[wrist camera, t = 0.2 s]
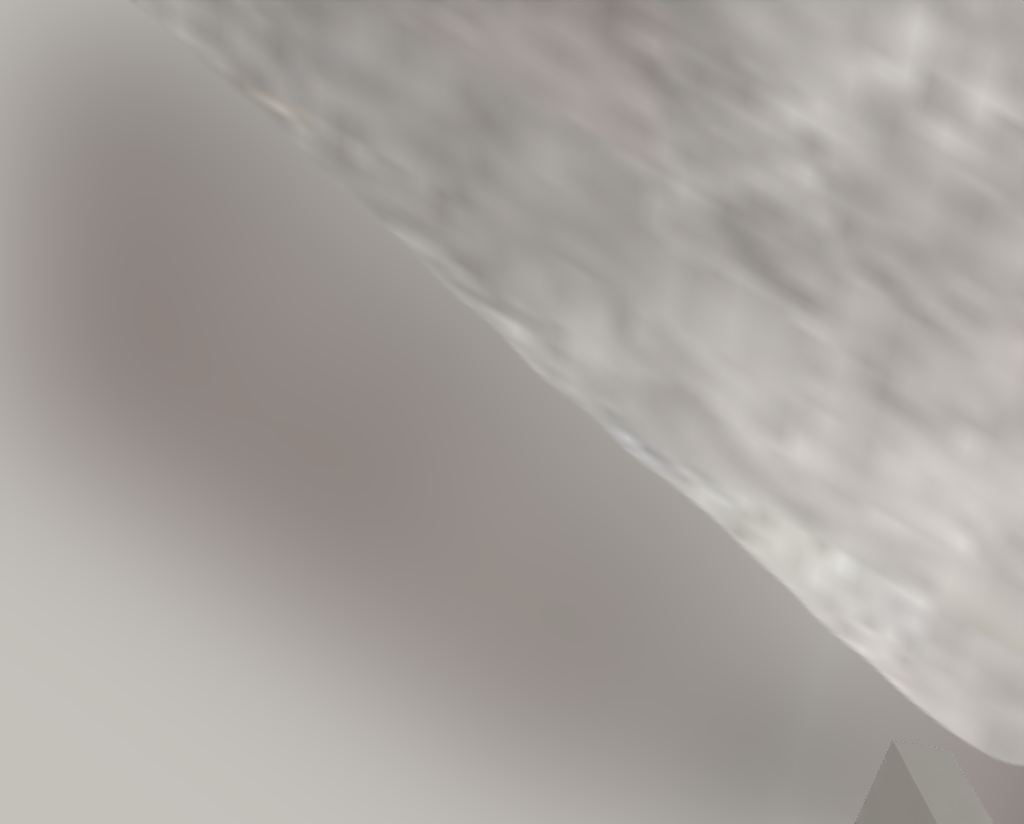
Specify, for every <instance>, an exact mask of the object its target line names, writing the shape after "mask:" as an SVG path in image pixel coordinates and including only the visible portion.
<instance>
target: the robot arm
mask: <svg viewBox="0 0 1024 824" xmlns="http://www.w3.org/2000/svg"><path fill="white" fill-rule="evenodd" d="M855 824H994V822H993V821H992V819H991V817H990V816H989V814H988V812H987V811H986V809H985V807H984V806H983V804H982V802H981V801H980V799H979V797H978V796H977V794H976V793H975V791H974V789H973V788H972V786H971V784H970V783H969V781H968V780H967V778H966V776H965V775H964V773H963V771H962V770H961V768H960V766H959V765H958V763H957V761H956V760H955V758H954V757H953V755H952V753H951V752H950V750H946V749H940V748H935V747H929V746H924V745H918V744H913V743H907V742H902V741H896V740H892V742H891V745H890V747H889V749H888V751H887V754H886V755H885V758H884V760H883V762H882V765H881V767H880V769H879V771H878V773H877V775H876V777H875V780H874V782H873V784H872V786H871V788H870V791H869V793H868V795H867V797H866V799H865V802H864V804H863V806H862V808H861V811H860V813H859V815H858V817H857V819H856V821H855Z"/></svg>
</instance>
